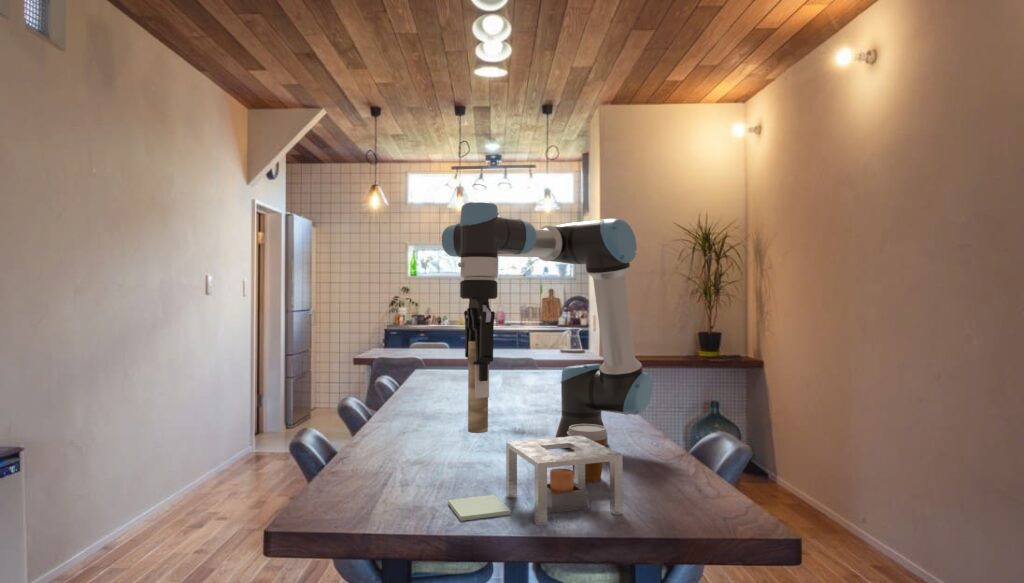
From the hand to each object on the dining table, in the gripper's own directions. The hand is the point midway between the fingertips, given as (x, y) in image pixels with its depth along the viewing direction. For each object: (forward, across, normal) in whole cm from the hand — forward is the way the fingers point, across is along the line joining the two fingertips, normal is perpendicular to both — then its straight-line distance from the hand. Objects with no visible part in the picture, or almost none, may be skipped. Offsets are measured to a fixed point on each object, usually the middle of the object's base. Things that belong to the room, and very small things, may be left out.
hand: (478, 395), depth 120 cm
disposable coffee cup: (+23, -11, +30) cm, 39 cm away
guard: (+23, +3, +17) cm, 29 cm away
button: (+22, +3, +17) cm, 28 cm away
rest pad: (+23, 0, 0) cm, 23 cm away
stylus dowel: (+7, 0, 0) cm, 7 cm away
